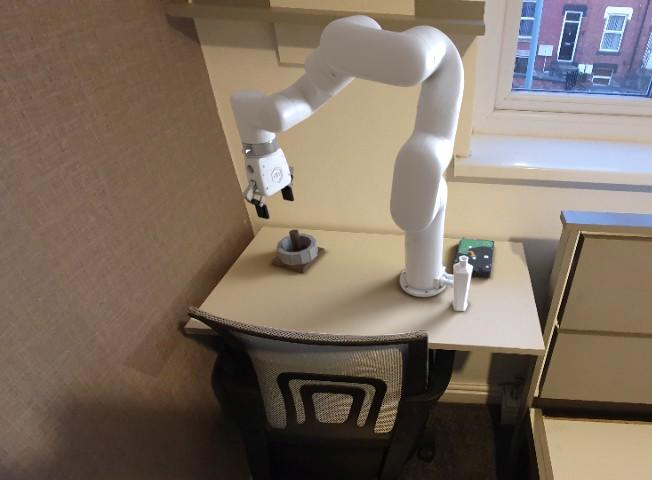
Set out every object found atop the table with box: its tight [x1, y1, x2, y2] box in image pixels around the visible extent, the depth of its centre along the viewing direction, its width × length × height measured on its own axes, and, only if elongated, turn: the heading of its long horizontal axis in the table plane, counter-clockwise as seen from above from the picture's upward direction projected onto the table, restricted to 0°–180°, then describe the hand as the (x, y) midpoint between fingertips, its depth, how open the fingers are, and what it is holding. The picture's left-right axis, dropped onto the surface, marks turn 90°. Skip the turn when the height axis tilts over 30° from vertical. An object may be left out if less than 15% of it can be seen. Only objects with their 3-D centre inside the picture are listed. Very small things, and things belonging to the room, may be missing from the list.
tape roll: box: [276, 232, 318, 266], centre depth 109 cm, size 10×10×4 cm
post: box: [271, 229, 326, 274], centre depth 109 cm, size 10×10×9 cm
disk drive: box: [453, 236, 495, 279], centre depth 113 cm, size 10×3×15 cm
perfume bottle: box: [451, 255, 473, 312], centre depth 94 cm, size 5×4×15 cm
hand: (276, 208), depth 103 cm, fingers open, 9 cm apart
